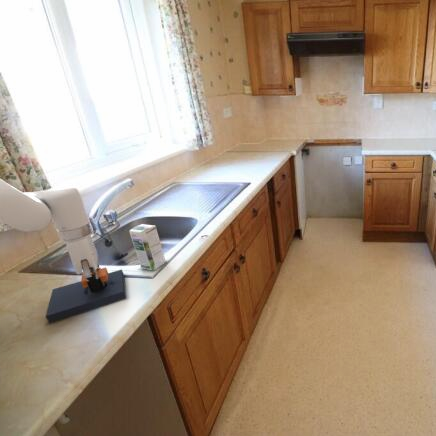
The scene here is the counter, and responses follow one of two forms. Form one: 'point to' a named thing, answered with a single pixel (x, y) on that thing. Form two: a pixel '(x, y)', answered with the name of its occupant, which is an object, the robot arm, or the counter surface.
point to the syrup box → (147, 246)
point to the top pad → (101, 273)
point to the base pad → (84, 297)
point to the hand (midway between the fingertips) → (98, 285)
